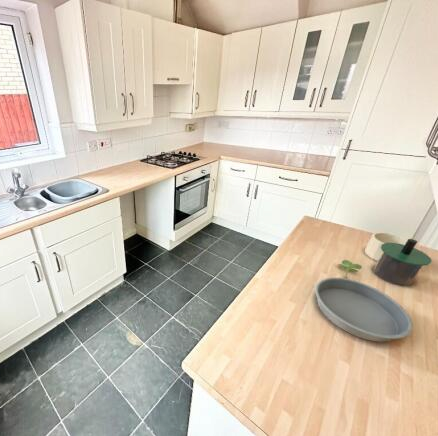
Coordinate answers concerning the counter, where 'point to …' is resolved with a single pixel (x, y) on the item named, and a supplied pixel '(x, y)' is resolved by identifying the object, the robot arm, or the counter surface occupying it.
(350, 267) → the seedling
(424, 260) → the lid
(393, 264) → the cup
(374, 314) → the cake pan
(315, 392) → the counter surface
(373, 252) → the tin
